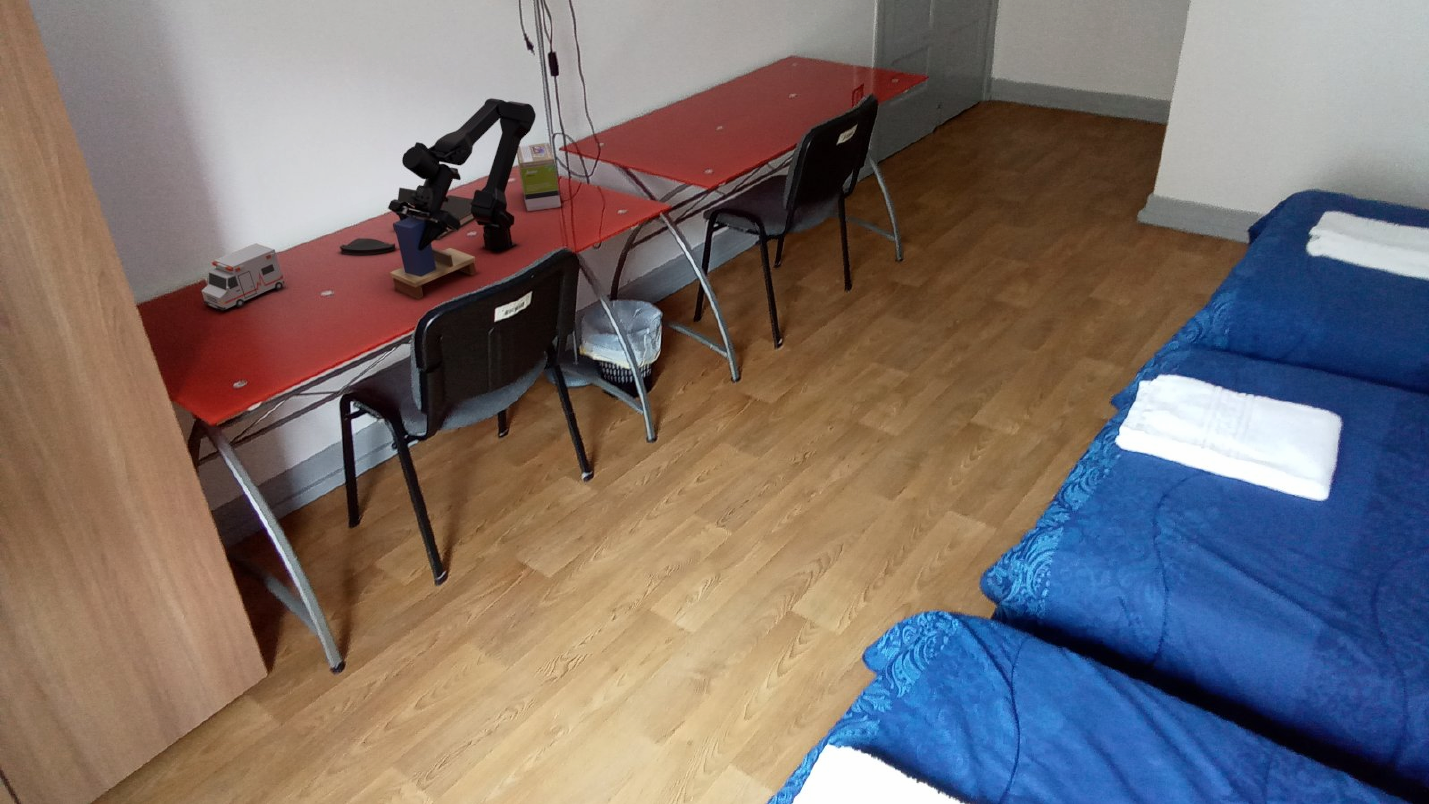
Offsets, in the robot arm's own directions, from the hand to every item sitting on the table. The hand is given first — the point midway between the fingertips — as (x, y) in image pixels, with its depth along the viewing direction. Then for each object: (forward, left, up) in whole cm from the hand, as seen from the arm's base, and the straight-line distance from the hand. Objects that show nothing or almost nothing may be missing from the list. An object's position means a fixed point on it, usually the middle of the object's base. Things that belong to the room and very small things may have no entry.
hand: (410, 247), depth 234 cm
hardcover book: (-31, -32, -11) cm, 46 cm away
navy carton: (-1, 0, -7) cm, 7 cm away
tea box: (-57, -20, -11) cm, 62 cm away
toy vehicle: (+28, -32, -11) cm, 44 cm away
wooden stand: (-5, -1, -11) cm, 12 cm away
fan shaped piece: (-6, -32, -11) cm, 35 cm away
